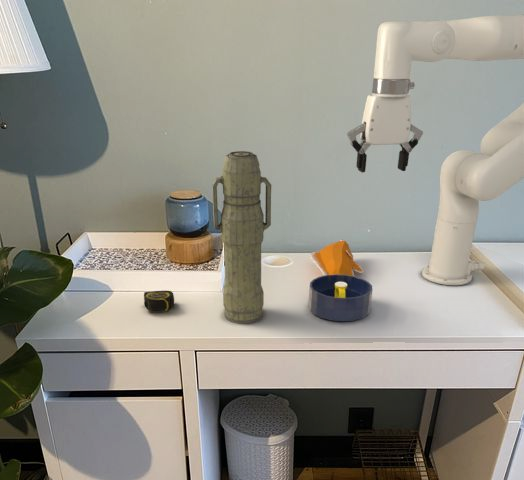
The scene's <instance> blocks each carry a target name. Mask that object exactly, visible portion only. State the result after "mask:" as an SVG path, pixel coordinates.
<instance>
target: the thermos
mask: <svg viewBox="0 0 524 480" xmlns="http://www.w3.org/2000/svg"><path fill="white" fill-rule="evenodd" d="M221 171H222V172H221V173H222V174H221V175H220V176H219V177H216V178H215V179H214V181H213V182H212V184H211V193H212V213H213V214H212V216H213V217H212V218H213V225H214V230H216V231H219V232H220V234H221V235H220V237H221V241H222V243H223V254H224V256H223V257H224V259H223V260H224V284H223V291H222V301H223V303H222V304H223V307H224V308H223V309H224V318H225V319H226V320H227V321H229V322H231V323H234V324H242V325H243V324H252V323H256V322H258V321H260V320H261V319H262V318H263V315H264V311H263V308H264V303H265V301H264V297H265V295H264V288H263V286H262V243H263V242H264V232H265V230H267V229H268V228H270V227H271V225H272V183H271V182H270V181H269V180H268V178H267V177H265V176H262V174H261V173H262V172H261V168H260V161H259V159H258V155H257V154H255V153H254V152H252V151H246V150H243V151H242V150H240V151H239V150H237V151H231V152H229V153H227V154H226V155H225V158H224V162H223V165H222V169H221ZM262 183H263V184H264V185H265V215H264V212H263V209H262V203H261V202H262V200H261V198H260V197H261V193H262V192H261V190H262V189H261V188H262V187H261V186H262ZM219 184H221V185H222V194H223V201H222V203H223V204H222V206H223V207H222V210H221V213H220V222H219V213H218V212H219V209H218V185H219ZM264 216H265V219H264ZM264 220H265V221H264Z"/></svg>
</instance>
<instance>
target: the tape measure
mask: <svg viewBox="0 0 524 480" xmlns="http://www.w3.org/2000/svg"><path fill="white" fill-rule="evenodd" d="M143 304H144V305H143V306H144V307H145V309H146V310H147V311H149V312H151V313H152V312H153V313H163V312H168V311H170V310H172V309H173V308H174V307H175V296H174V292H173V291H171V290H153V291H144V292H143Z"/></svg>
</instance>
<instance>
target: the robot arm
mask: <svg viewBox="0 0 524 480" xmlns="http://www.w3.org/2000/svg"><path fill="white" fill-rule="evenodd" d="M376 36H377V37H376V46H375V55H374V56H375V58H374V69H373V80H372V90H371V94H368V95H367V98H366V101H365V104H364V109H363V115H362V120H361V124H360V125H358V126H356V127H355V128H353V129H351V130H349V131H348V132H347V133H346V135H347V138H348V140H349V142H350V145H351V146H352V148H353V149H355V151H356V153H357V154H356V155H357V156H356V168H357V170H358V172H360V173H365V172H366V167H367V158H368V157H367V156H368V155H367V153H366V152H367V150H368V149H369V148H370V147H371V146H387V145H388V146H389V145H399V147H400V148H401V150H399V152H398V160H397V161H398V162H397V169H398V170H400V171H402V172H405V171H406V170H407V167H408V166H409V158H410V153H411V152H413V149H414V148H415V147H416V146H417V145H418V144H419V141H420V140H421V139H422V137H423V134H424V131H423V130H421V129H419V127H417V126H415V125H414V124H412V104H411V95H409V94H408V93H409V92H410V90H414V89H415V86H416V84H415V82H414V81H413V82H412V81H411V79H410V76H411V69H412V62H424V63H435V62H440V61H442V60H444V59H446V60H462V61H463V60H464V61H472V62H490V61H506V60H524V14H504V15H503V14H501V15H485V16H484V15H483V16H476V17H475V16H474V17H469V18H463V19H450V20H417V21H412V22H411V21H401V20H400V21H399V20H397V21H384V22H382V23H381V24H380V25H379V26H378V28H377V35H376ZM410 132H411V133H412V134H413V136H412V138H411V139H410V134H411V133H410ZM358 135H360V142H358V140H357V136H358ZM409 139H410V140H409ZM479 149H480V152H481V153H480V152H477V151H474V150H468V149H460V150H456V151H454V152H452V153H450V154H449V155H448V156H447V157H446V158H445V159H444V160H443V163H442V165H441V168H440V172H439V201H438V202H439V203H438V209H437V216H436V222H435V228H434V235H433V240H432V241H433V242H432V246H431V247H432V248H431V253H430V260H429V264H428V265H427V266H424V268H422V270H421V275H422V277H423V278H424V279H425V280H427V281H429V282H432V283H434V284H438V285H444V286H462V285H467V284H469V283H470V282H472V280H473V274H472V272H474V271H484V270H485V269H486V263H485V262H476V260H470V258H471V252H472V247H473V243H474V237H475V232H476V228H477V227H476V226H477V221H478V217H479V210H480V202H489V201H492V200H494V199H497V198H498V197H500V196H501V195H503V194H504V193H506V192H507V191H508V190H509V189H511V188H512V187H514V186H515V185H516V184H518V183H519V182H521V181H522V180H523V179H524V102H522V103H521V105H519V106H518V107H517V108H516V109H514V110H513V111H512V112H511V113H509V114H508V115H507V116H506V117H504V118H503V119H502V120H500V121H499V122H498V123H497V124H495V125H494V126H493V127H491V128H490V129H489V130H488V131H487V132H486V133H485V134H484V135H483V137H482V139H481V142H480V143H479Z"/></svg>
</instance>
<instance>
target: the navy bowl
mask: <svg viewBox="0 0 524 480" xmlns="http://www.w3.org/2000/svg"><path fill="white" fill-rule="evenodd" d="M336 282H345V283H347V288H346V289H345V298H338V297H335V283H336ZM372 297H373V285H372V284H371V282H369V281H367V280H366V279H363V278H361V277H358V276H356V275H355V276H350V275H339V274H335V275H321V276H318V277H315V278H313V279H312V280H311V281H310V282H309V289H308V309H309V311H310V312H311V313H312V314H313V315H315V316H316V317H318V318H320V319H321V318H322V319H325V320H328V321H334V322H335V321H336V322H351V321H357V320H360V319H363V318H365V317H367V316H368V315H369V314H370V312H371V308H372V299H373V298H372Z"/></svg>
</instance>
